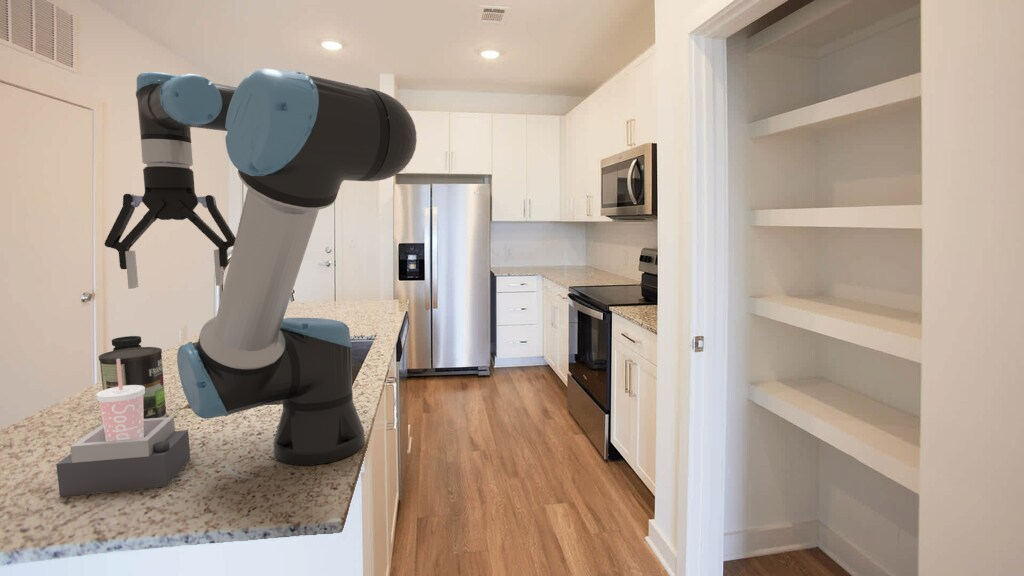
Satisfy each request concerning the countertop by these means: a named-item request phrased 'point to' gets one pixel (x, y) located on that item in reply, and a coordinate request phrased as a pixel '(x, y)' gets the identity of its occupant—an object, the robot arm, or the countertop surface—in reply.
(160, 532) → the countertop surface
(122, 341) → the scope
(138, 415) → the beverage cup
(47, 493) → the countertop surface
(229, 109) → the robot arm
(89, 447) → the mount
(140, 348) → the coffee can
